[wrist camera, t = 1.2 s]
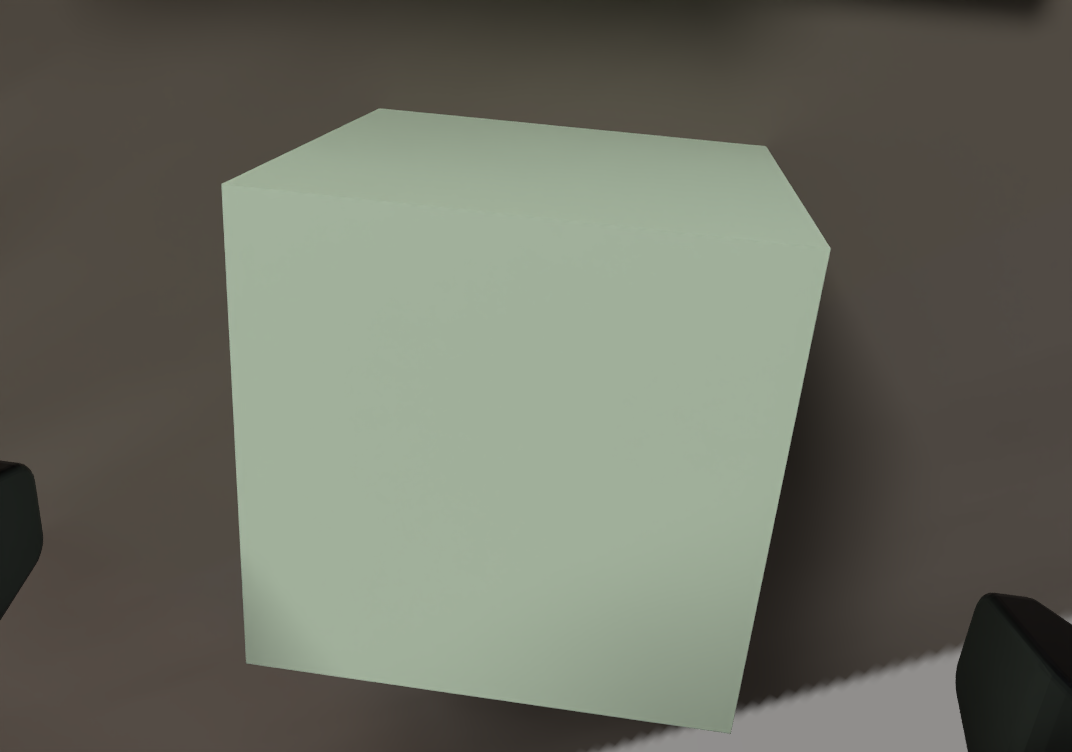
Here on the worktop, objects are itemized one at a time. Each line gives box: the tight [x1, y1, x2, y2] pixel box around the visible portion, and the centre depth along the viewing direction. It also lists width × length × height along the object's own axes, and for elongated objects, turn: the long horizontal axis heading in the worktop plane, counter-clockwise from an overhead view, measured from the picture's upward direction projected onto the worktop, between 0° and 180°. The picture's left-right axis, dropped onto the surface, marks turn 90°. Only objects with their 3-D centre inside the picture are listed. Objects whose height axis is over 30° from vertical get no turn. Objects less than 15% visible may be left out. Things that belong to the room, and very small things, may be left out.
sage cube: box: [222, 108, 831, 734], centre depth 13 cm, size 6×6×6 cm
